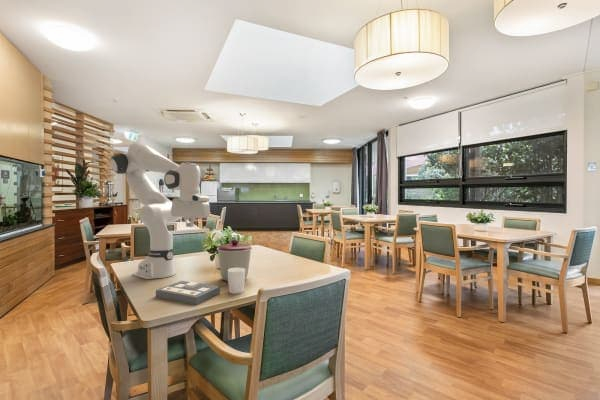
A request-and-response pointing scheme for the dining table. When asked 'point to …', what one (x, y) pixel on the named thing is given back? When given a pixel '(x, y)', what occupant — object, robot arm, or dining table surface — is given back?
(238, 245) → the canister
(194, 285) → the middle button
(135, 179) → the robot arm
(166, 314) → the dining table surface
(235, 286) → the white cup
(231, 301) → the dining table surface
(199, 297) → the button panel
